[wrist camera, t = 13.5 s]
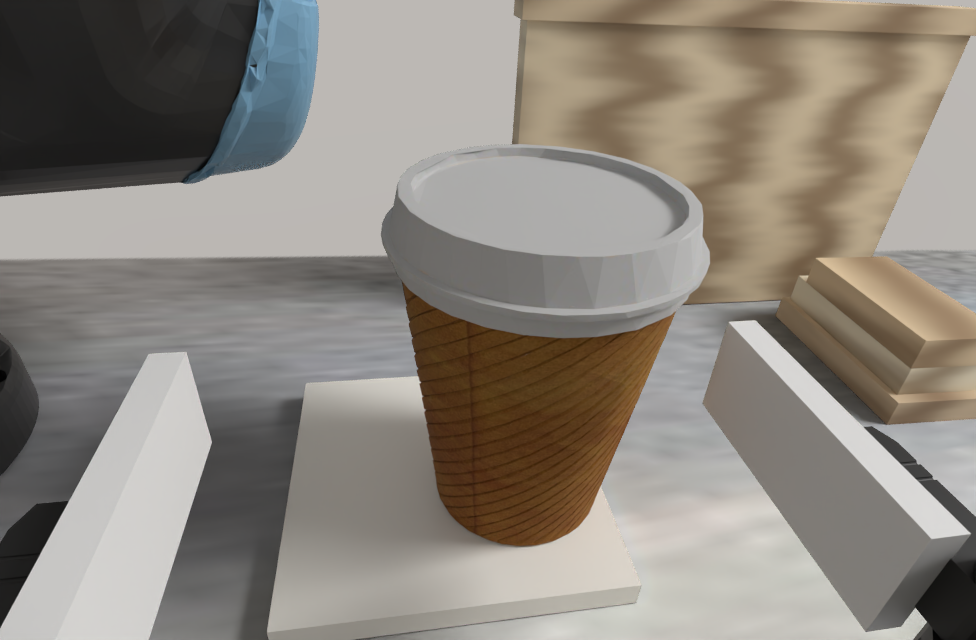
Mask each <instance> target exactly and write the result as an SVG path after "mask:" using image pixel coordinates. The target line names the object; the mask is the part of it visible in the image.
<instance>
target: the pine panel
mask: <svg viewBox="0 0 976 640" xmlns="http://www.w3.org/2000/svg"><path fill="white" fill-rule="evenodd" d="M514 15H515V16H517V17H518V18H520V19H521V23H520V39H519V51H518V68H517V82H516V95H515V111H514V124H513V139H512V144H527V145H544V146H559V147H566V148H573V149H581V150H588V151H594V152H599V153H603V154H607V155H612V156H616V157H620V158H625V159H628V160H631V161H634V162H636V163H639V164H642V165H645V166H648V167H651V168H653V169H655V170H658V171H660V172H662V173H664V174H666V175H668V176H670V177H672V178H674V179H675V180H677V181H679V182H681V183H682V184H683V185H685V186H686V187H687V188H688V189H689V190H691V191H692V192H693V193H694V195H695V196H696V197H697V199H698V200H699V201H700V203H701V204H702V209H703V235H702V237H703V238H704V241H705V243H706V245H707V247H708V249H709V251H710V265H709V268H708V271H707V273H706V275H705V277H704V279H703V280H702V282H701V284H700V286H699V287H698V288H697V289H696V290H695V291H693V292H692V293H691V294H690V295H689V297H688V299H687V300H686V301H685V302H684V303H683V304H701V303H723V302H745V301H766V300H782V297H791V295H792V293H793V290H794V287H795V285H796V282H797V279H798V277H799V276H809V273H810V271H811V268H812V266H813V263H814V260H815V258H838V257H872V256H873V254H874V251H875V249H876V247H877V245H878V242H879V240H880V238H881V235H882V233H883V231H884V229H885V227H886V224H887V222H888V220H889V217H890V215H891V213H892V211H893V208H894V206H895V204H896V202H897V200H898V197H899V195H900V193H901V190H902V188H903V186H904V184H905V182H906V179H907V177H908V175H909V173H910V170H911V168H912V166H913V164H914V161H915V159H916V157H917V155H918V152H919V150H920V148H921V146H922V144H923V141H924V139H925V137H926V135H927V132H928V130H929V128H930V125H931V123H932V121H933V119H934V117H935V114H936V112H937V110H938V108H939V105H940V103H941V101H942V98H943V96H944V94H945V92H946V90H947V87H948V85H949V83H950V81H951V78H952V76H953V74H954V72H955V69H956V67H957V65H958V63H959V60H960V58H961V56H962V54H963V52H964V49H965V47H966V45H967V42H968V40H969V38H970V36H976V8H968V7H960V6H938V5H915V4H914V5H912V4H892V3H870V2H847V1H824V0H515V6H514Z"/></svg>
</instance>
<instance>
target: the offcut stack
mask: <svg viewBox="0 0 976 640" xmlns="http://www.w3.org/2000/svg"><path fill="white" fill-rule="evenodd" d="M776 317H777V318H778V319H779V320H780V321H781V322H782V323H783V324H784V325H785V326H786V327H787V328H789V329H790V330H791V331H792V332H793V333H794V334H795V335H796V336H797V337H798V338H799V339H800V340H801V341H802V342H803V343H804V344H805V345H806V346H807V347H808V348H809V349H810V350H811V351H812V352H813V353H814V354H815V355H816V356H817V357H818V358H819V359H820V360H821V361H822V362H823V363H824V364H825V365H826V366H827V367H828V368H829V369H830V370H831V371H832V372H833V373H834V374H836V375H837V376H838V377H839V378H840V379H841V380H842V381H843V382H844V383H845V384H846V385H847V386H848V387H849V388H850V389H851V390H852V391H853V392H854V393H855V394H856V395H857V396H858V397H859V398H860V399H861V400H862V401H863V402H864V403H865V404H866V405H867V406H868V407H869V408H870V409H871V410H872V411H873V412H874V413H875V414H876V415H877V416H878V417H879V418H880V419H882V420H883V421H884V422H885V423H886V424H887V425H890V424H905V423H920V422H935V421H949V420H964V419H976V313H974V312H973V311H971V310H970V309H968V308H966V307H965V306H963V305H962V304H960V303H959V302H957V301H955V300H954V299H952V298H951V297H949V296H948V295H946V294H944V293H943V292H941V291H940V290H938V289H937V288H935V287H934V286H932V285H930V284H929V283H927V282H926V281H924V280H923V279H921V278H919V277H918V276H916V275H915V274H913V273H912V272H910V271H908V270H907V269H905V268H904V267H902V266H901V265H899V264H898V263H896V262H894V261H893V260H891V259H890V258H888V257H838V258H815V260H814V263H813V266H812V268H811V271H810V273H809V276H799V277H798V279H797V282H796V285H795V287H794V290H793V293H792V295H791V297H782V300H781V302H780V305H779V308H778V310H777V313H776Z"/></svg>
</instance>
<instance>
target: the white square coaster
mask: <svg viewBox="0 0 976 640" xmlns="http://www.w3.org/2000/svg"><path fill="white" fill-rule="evenodd" d="M420 383H421V382H420V381H419V377H418V376H414V377H398V378H382V379H366V380H349V381H333V382H317V383H306V387H305V393H304V399H303V406H302V412H301V418H300V425H299V431H298V437H297V444H296V450H295V456H294V463H293V469H292V475H291V482H290V488H289V494H288V501H287V507H286V513H285V520H284V526H283V532H282V539H281V545H280V551H279V558H278V564H277V570H276V577H275V583H274V589H273V596H272V602H271V608H270V615H269V621H268V628H267V635H268V639H269V640H355V639H362V638H370V637H378V636H385V635H393V634H400V633H408V632H416V631H423V630H431V629H439V628H446V627H454V626H462V625H469V624H477V623H484V622H492V621H500V620H507V619H515V618H523V617H530V616H538V615H546V614H553V613H561V612H568V611H576V610H584V609H591V608H599V607H607V606H614V605H622V604H630V603H636V602H637V599H638V595H639V592H640V589H641V586H642V585H641V582H640V580H639V578H638V575H637V573H636V570H635V568H634V565H633V563H632V561H631V558H630V556H629V553H628V551H627V548H626V546H625V544H624V541H623V539H622V536H621V534H620V531H619V529H618V527H617V524H616V522H615V519H614V517H613V514H612V512H611V510H610V507H609V505H608V502H607V500H606V497H605V495H604V493H603V490H602V488H601V486H600V489H599V491H598V493H597V496H596V498H595V501H594V503H593V505H592V508H591V510H590V512H589V514H588V516H587V517H586V518H585V519H584V520H583V522H582V523H581V524H580V525H579V527H577V528H576V529H575V530H573V531H572V532H571V533H569V534H567V535H565V536H563V537H561V538H559V539H557V540H555V541H553V542H548V543H544V544H540V545H532V546H514V545H506V544H500V543H496V542H493V541H490V540H487V539H485V538H483V537H480V536H478V535H476V534H474V533H472V532H470V531H468V530H467V529H466V528H464V527H463V526H462V525H460V524H459V523H458V522H457V521H456V520H455V519H454V518H453V517H452V516H451V515H450V514H449V512H448V511H447V509H446V507H445V506H444V504H443V502H442V501H441V499H440V496H439V493H438V489H437V484H436V476H435V470H434V465H433V460H434V459H433V456H432V452H431V446H430V441H429V436H430V435H429V434H428V429H427V425H426V424H427V422H426V418H425V414H424V412H425V410H426V409H424V406H423V402H422V397H423V396H422V393H421V389H420V385H419V384H420Z"/></svg>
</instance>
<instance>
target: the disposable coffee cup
mask: <svg viewBox="0 0 976 640" xmlns="http://www.w3.org/2000/svg"><path fill="white" fill-rule="evenodd" d="M702 235H703V209H702V204H701V203H700V201H699V200H698V199H697V197H696V196H695V195H694V193H693V192H692V191H691V190H689V189H688V188H687V187H686V186H685V185H683V184H682V183H681V182H679V181H677V180H675V179H674V178H672V177H670V176H668V175H666V174H664V173H662V172H660V171H658V170H655V169H653V168H651V167H648V166H645V165H642V164H639V163H636V162H634V161H631V160H628V159H625V158H620V157H616V156H612V155H607V154H603V153H599V152H594V151H588V150H581V149H573V148H566V147H559V146H544V145H527V144H510V145H488V146H477V147H469V148H464V149H459V150H455V151H450V152H445V153H440V154H437V155H434V156H432V157H429V158H427V159H424V160H421V161H419V162H418V163H416V164H415V165H413V166H411V167H410V168H408V169H407V170H406V171H405V172H404V173H403V174H402V176H401V177H400V180H399V182H398V184H397V190H396V195H395V201H394V206H393V208H392V209H391V210H390V211H389V212H388V213H387V214H386V216H385V219H384V221H383V223H382V231H381V237H382V242H383V246H384V248H385V250H386V253H387V255H388V257H389V259H390V260H391V261H392V263H393V265H394V268H395V270H396V273H397V275H398V277H399V278H400V279H401V280H402V284H403V290H404V295H405V300H406V304H407V306H406V310H407V314H408V318H409V321H410V323H409V327H410V331H411V335H412V337H413V339H412V344H413V348H414V352H415V353H416V354H415V356H414V357H415V361H416V365H417V367H418V370H417V373H418V377H419V381H420V382H421V383H420V384H419V385H420V389H421V393H422V396H423V397H422V402H423V406H424V409H426V410H425V412H424V414H425V418H426V422H427V424H426V425H427V429H428V434H429V435H430V436H429V441H430V446H431V452H432V456H433V459H434V460H433V465H434V470H435V476H436V484H437V489H438V493H439V496H440V499H441V501H442V502H443V504H444V506H445V507H446V509H447V511H448V512H449V514H450V515H451V516H452V517H453V518H454V519H455V520H456V521H457V522H458V523H459V524H460V525H462V526H463V527H464V528H466V529H467V530H468V531H470V532H472V533H474V534H476V535H478V536H480V537H483V538H485V539H487V540H490V541H493V542H496V543H500V544H506V545H514V546H532V545H540V544H544V543H548V542H553V541H555V540H557V539H559V538H561V537H563V536H565V535H567V534H569V533H571V532H572V531H573V530H575V529H576V528H577V527H579V525H580V524H581V523H582V522H583V520H584V519H585V518H586V517H587V516H588V514H589V512H590V510H591V508H592V505H593V503H594V501H595V498H596V496H597V493H598V491H599V489H600V486H601V484H602V482H603V479H604V477H605V475H606V472H607V470H608V468H609V465H610V463H611V461H612V458H613V456H614V454H615V451H616V449H617V447H618V444H619V442H620V440H621V438H622V435H623V433H624V431H625V428H626V426H627V424H628V422H629V419H630V417H631V414H632V412H633V410H634V408H635V405H636V403H637V401H638V399H639V396H640V394H641V391H642V389H643V387H644V385H645V382H646V380H647V378H648V375H649V373H650V370H651V368H652V366H653V363H654V361H655V359H656V356H657V354H658V352H659V349H660V347H661V345H662V342H663V341H664V338H665V336H666V334H667V331H668V329H669V326H670V324H671V322H672V320H673V317H674V315H675V312H676V310H677V309H678V308H679V307H680V306H681V305H682V304H683V303H684V302H685V301H686V300H687V299H688V297H689V295H690V294H691V293H692V292H693V291H695V290H696V289H697V288H698V287H699V286H700V284H701V282H702V280H703V279H704V277H705V275H706V273H707V271H708V268H709V265H710V251H709V249H708V247H707V245H706V243H705V241H704V238H703V237H702Z"/></svg>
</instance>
